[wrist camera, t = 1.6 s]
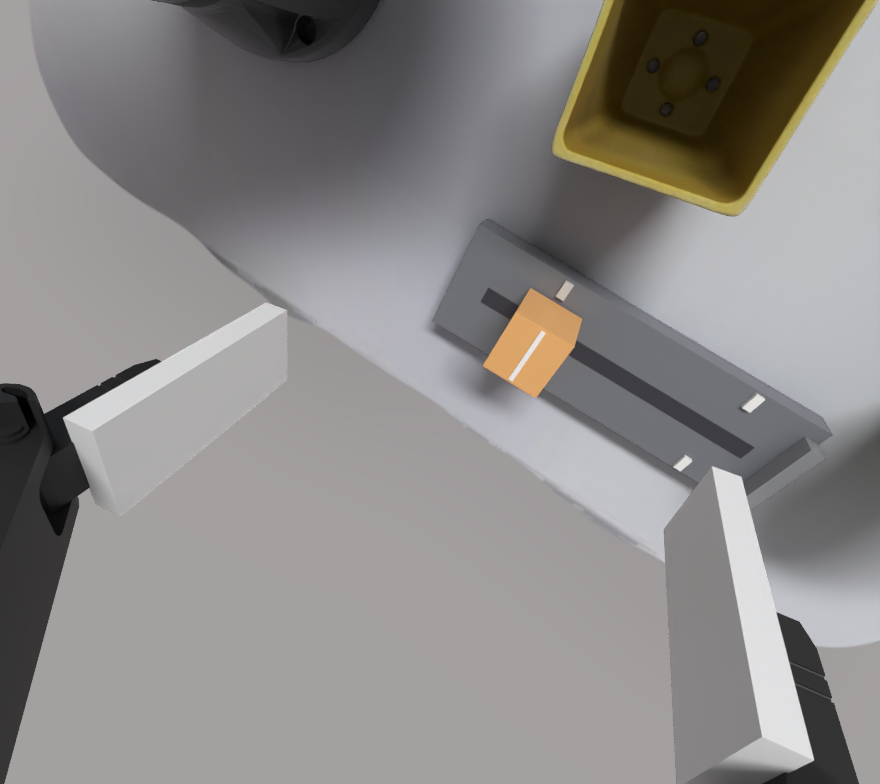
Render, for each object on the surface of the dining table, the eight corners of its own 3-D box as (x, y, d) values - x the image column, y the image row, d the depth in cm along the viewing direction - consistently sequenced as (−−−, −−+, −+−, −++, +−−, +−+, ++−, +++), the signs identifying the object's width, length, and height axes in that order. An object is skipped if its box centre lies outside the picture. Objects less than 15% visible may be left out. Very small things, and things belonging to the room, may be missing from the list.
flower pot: (714, 190, 27) (739, 222, 20) (570, 141, 28) (546, 154, 21) (825, -3, 22) (913, -54, 15) (644, -52, 23) (644, -121, 16)
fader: (499, 338, 34) (482, 366, 30) (530, 287, 31) (515, 312, 28) (546, 366, 34) (535, 399, 30) (582, 318, 31) (574, 347, 28)
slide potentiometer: (441, 311, 37) (424, 328, 34) (487, 218, 32) (472, 229, 29) (730, 486, 36) (737, 519, 33) (822, 417, 31) (840, 448, 28)
